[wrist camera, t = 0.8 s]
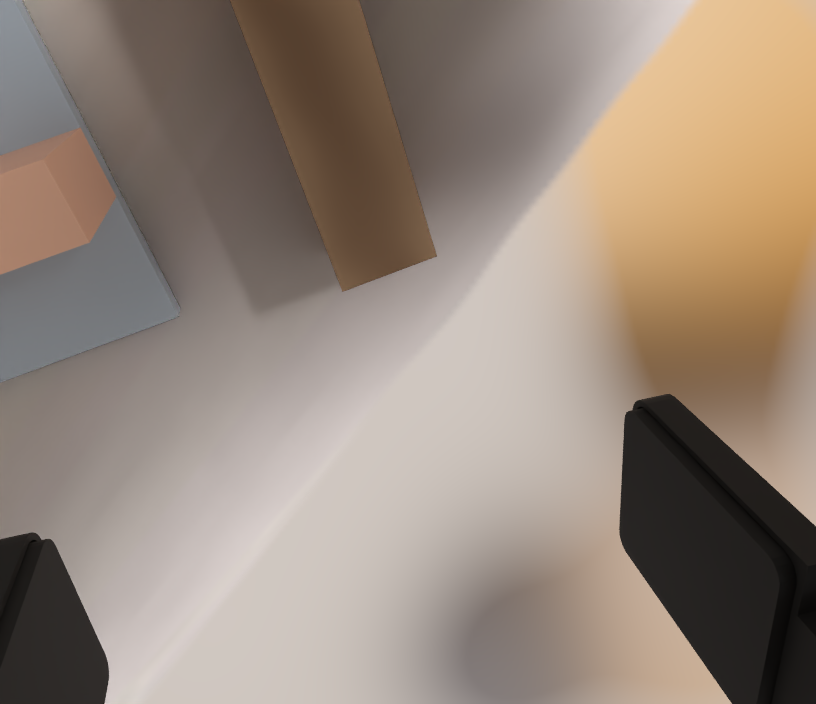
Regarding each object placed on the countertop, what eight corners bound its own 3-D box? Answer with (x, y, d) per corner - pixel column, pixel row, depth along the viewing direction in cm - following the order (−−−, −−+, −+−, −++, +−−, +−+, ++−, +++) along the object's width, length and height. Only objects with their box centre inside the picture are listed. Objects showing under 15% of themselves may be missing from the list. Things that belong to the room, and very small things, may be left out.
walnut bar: (276, -198, 25) (286, -240, 20) (409, 221, 32) (436, 256, 28) (168, -161, 24) (153, -196, 20) (327, 252, 32) (342, 291, 28)
